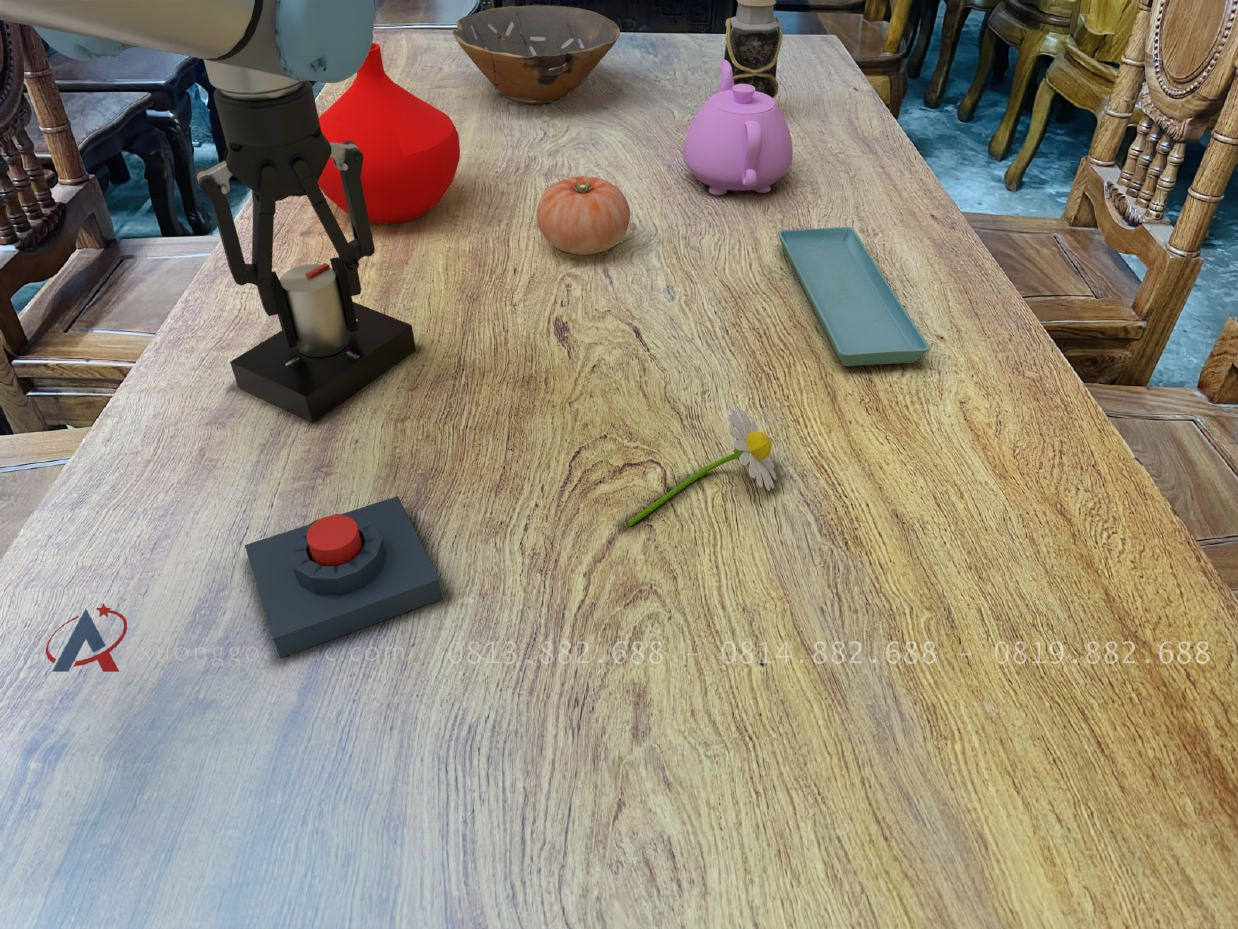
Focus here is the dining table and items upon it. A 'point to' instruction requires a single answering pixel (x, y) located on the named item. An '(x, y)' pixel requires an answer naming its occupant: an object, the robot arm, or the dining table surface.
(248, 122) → the robot arm
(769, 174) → the teapot
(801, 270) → the rectangular tray
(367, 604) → the button box
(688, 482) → the decorative flower
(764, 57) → the lantern
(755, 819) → the dining table surface
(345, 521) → the button
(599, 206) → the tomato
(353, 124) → the vase
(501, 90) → the bowl
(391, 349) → the panel
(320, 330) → the knob
